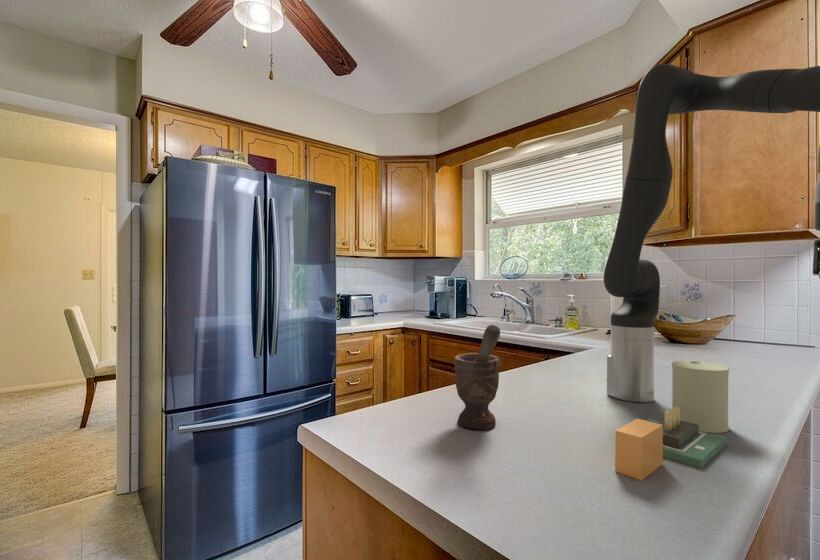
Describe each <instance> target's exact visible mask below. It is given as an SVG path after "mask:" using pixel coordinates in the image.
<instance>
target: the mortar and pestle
mask: <svg viewBox="0 0 820 560" xmlns="http://www.w3.org/2000/svg"><path fill="white" fill-rule="evenodd" d="M500 336H501V329H500V327H499V326H497V325H494V324H489V325H487V327H486V328H485V329H484V332H483V335H482V339H481V343H480V348H479V351H478V352H469V353H467V352H466V353H459V354H457V355H455V357H454V382H455V388H456V391H457V396H458V397H459V399H460V400H461V401H462V403H464V408H463V410H462V411H461V412H460V413H459V415H458V418H457V422H456V423H457V424H458V425H459V426H461V427H463V428H467V429H472V430H473V429H474V430H480V431H481V430H482V431H488V430H492V429H494V428H495V427H496V424H497V423H496V422H497V420H496V417H495V414H494V413H492V412H491V411H490V410H489V405H490V404H491V402H492V401H494V400H495V399H496V395H497V392H498V390H499V383H500V382H499V381H500V376H499V375H500V373H499V372H500V364H501V363H500V360H501V359H500V357H499V356H498V355H493V354H492V352H493V350H494V349H495V346H496V345H497V343H498V341H499V339H500Z"/></svg>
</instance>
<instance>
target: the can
mask: <svg viewBox="0 0 820 560" xmlns="http://www.w3.org/2000/svg"><path fill="white" fill-rule="evenodd" d="M671 366H672V367H671V368H672V370H671V371H672V372H671V373H672V375H671V376H672V398H671V399H672V401H671V402H672V405H671V406H672V407H671V409H673V407H679V408H680V421H684V422H688V423H693V424H697V425H699V431H703V432H707V433H711V434H720V433H726V432H728V431H730V426H729V372H730V368H729V367H727V366H724V365H722V364H717V363H711V362H707V361H706V362H705V361H700V360H699V361H698V360H697V361H693V360H678V361H677V360H676V361H675V360H674V361H672V362H671Z"/></svg>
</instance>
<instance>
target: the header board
mask: <svg viewBox="0 0 820 560" xmlns="http://www.w3.org/2000/svg"><path fill="white" fill-rule="evenodd" d="M646 421H649V422H653V423H657V424H661V425H663V458H667V459H670V460H672V461H677V462H679V463H682V464H687V465H690V466H694V467H696V468H700V469H702V468H703V467H704V466H705V465H707V464H708V463H709V461H711V459H713V458H714V457H715V456H716V455H717V454H718V453H719V452H720V451H721V450H722V449H723V448H724V447H725V446H726V445H727V436H722V435H718V434H716V433H709V432H703V431H699V425H697V424H693V423H688V422H684V421H680V408H679V407H673V409H672V408H670V409H668V410H667V411H666V410H665V411H664V418H663V419H662V420H656V419H653V418H648V419H646Z"/></svg>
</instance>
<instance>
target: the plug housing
mask: <svg viewBox="0 0 820 560" xmlns="http://www.w3.org/2000/svg"><path fill="white" fill-rule="evenodd" d="M614 437H615V438H614V439H615V445H614V449H615V453H614V454H615V457H614V458H615V459H614V461H615V462H614V464H615V465H614V466H615V469H614V471H615V472H617V473H619V474H622V475H624V476H628V477H631V478H632V479H636V480H638V481H639V480H640V481H643V480H645V478H647V477H649V476H650V475H651V474H652V473H654V472H655V471H656V470H657V469H658V468H659V467H661V466H662V465H663V464H664V463H663V461H664V460H663V459H664V457H663V425H661V424H657V423H653V422H649V421H647V420H644V419H641V418H636V419H634V420H633V421H630V422H628V423H626V424H625V425H623V426H621V427H619V428H618V429H615V435H614Z"/></svg>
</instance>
